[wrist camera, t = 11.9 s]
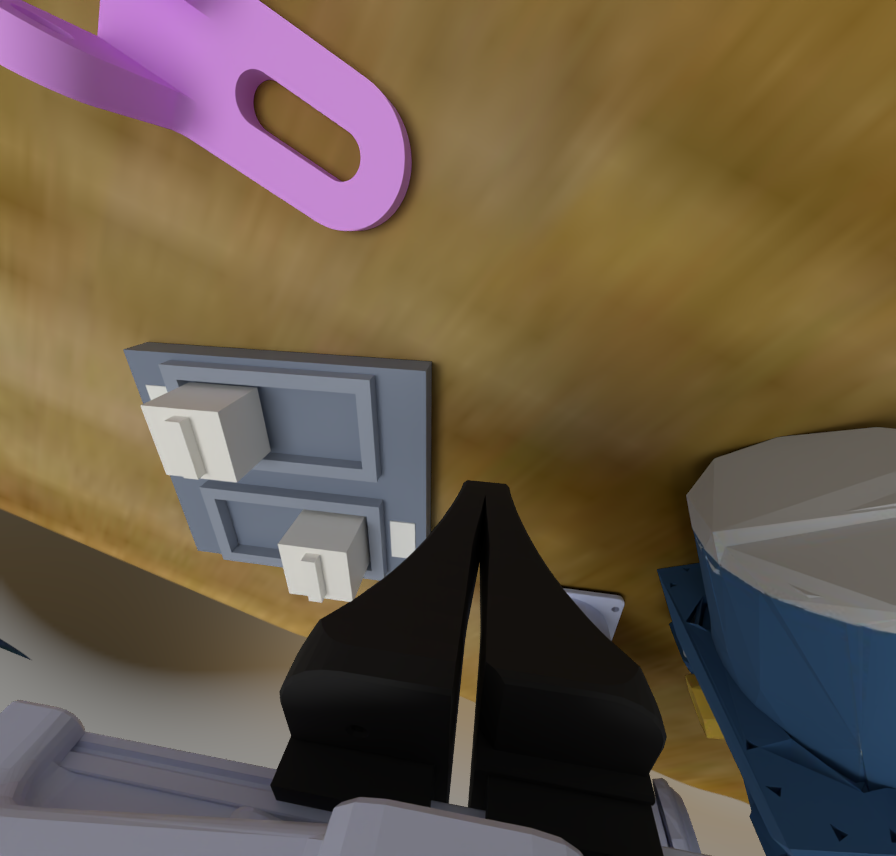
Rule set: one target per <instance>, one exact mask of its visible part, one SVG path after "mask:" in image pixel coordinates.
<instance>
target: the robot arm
mask: <svg viewBox="0 0 896 856" xmlns="http://www.w3.org/2000/svg"><path fill="white" fill-rule="evenodd" d="M479 562H480V619H481V633H480V653H479V667H478V681H477V694H476V708H475V721H474V722H475V723H474V734H473V749H472V761H471V775H470V787H469V801H468V807H463V806H458V805H453V804H449V794H450V784H451V774H452V764H453V754H454V744H455V733H456V723H457V714H458V704H459V694H460V684H461V674H462V664H463V655H464V645H465V637H466V630H467V624H468V619H469V614H470V608H471V603H472V598H473V593H474V588H475V583H476V577H477V572H478V567H479ZM623 608H624V600H623V598H622V597H621V596H619V595H613V594H605V593H597V592H590V591H582V590H574V589H566V588H562V586H561V585H560V584H559V582H558V581H557V580H556V578H555V577H554V576H553V574H552V573H551V571H550V570H549V568H548V567H547V566H546V564H545V563H544V561H543V560H542V558H541V556H540V555H539V553H538V551H537V550H536V548H535V546H534V545H533V543H532V541H531V539H530V537H529V536H528V534H527V532H526V530H525V528H524V526H523V524H522V522H521V520H520V517H519V515H518V513H517V510H516V508H515V505H514V503H513V500H512V497H511V494H510V490H509V487H508V486H507V485H506V484H500V483H490V482H480V481H470V480H467V481H466V482H464V483H463V486H462V488H461V490H460V492H459V494H458V496H457V497H456V499H455V501H454V502H453V504H452V505H451V507H450V508H449V510H448V511H447V512H446V514H445V515H444V517H443V518H442V520H441V521H440V522H439V523H438V525H437V526H436V527H435V528H434V529H433V531H432V532H431V533H430V534H429V535H428V537H427V538H426V539H425V540H424V541H423V542H422V543H421V544H420V545H419V546H418V548H417V549H416V550H415V551H414V552H413V553H411V554H410V555H409V556H408V557H407V558H406V559H405V560H404V561H403V562H402V563H401V564H400V565H398V566H397V567H396V568H395V569H394V570H393V571H392V572H390V573H389V574H388V575H387V576H385V577H384V578H383V579H382V580H380V581H379V582H378V583H376V584H375V585H373V586H372V587H371V588H369V589H368V590H367V591H365V592H364V593H362V594H361V595H360V596H358V597H357V598H355V599H354V600H352V601H351V602H349V603H347V604H346V605H344V606H342V607H341V608H339V609H337V610H336V611H334V612H332V613H331V614H329V615H327V616H326V617H324V618H322V619H320V620H319V621H318V623H317V624H316V626H315V627H314V629H313V630H312V632H311V633H310V635H309V636H308V638H307V639H306V641H305V642H304V644H303V646H302V647H301V649H300V651H299V652H298V654H297V656H296V658H295V660H294V662H293V664H292V666H291V668H290V670H289V672H288V674H287V676H286V679H285V681H284V683H283V685H282V687H281V690H280V701H281V705H282V708H283V711H284V714H285V717H286V720H287V724H288V727H289V730H290V733H291V738H290V740H289V742H288V745H287V748H286V750H285V752H284V754H283V756H282V759H281V761H280V763H279V766H278V768H277V769H271V768H267V767H262V766H256V765H252V764H246V763H241V762H236V761H231V760H226V759H221V758H216V757H211V756H206V755H201V754H196V753H191V752H186V751H181V750H176V749H171V748H166V747H161V746H156V745H151V744H145V743H141V742H136V741H131V740H125V739H120V738H115V737H110V736H105V735H100V734H95V733H90V732H85V728H84V726H83V725H82V723H81V721H80V720H79V719H78V718H77V717H76V716H75V715H74V714H73V713H71V712H69V711H67V710H65V709H62V708H58V707H54V706H49V705H43V704H38V703H33V702H27V701H23V700H17V701H13V702H12V703H11V704H10V705H8V706H7V707H6V708H5V709H4V710H3V711H2V712H1V713H0V856H710V855H705V854H701V851H700V848H699V845H698V842H697V838H696V836H695V832H694V830H693V826H692V824H691V821H690V818H689V815H688V813H687V810H686V807H685V805H684V802H683V800H682V798H681V797H680V795H679V794H678V793H677V792H675V791H674V790H673V789H672V788H671V787H669V785H668V783H667V781H665V780H664V779H662V778H659V779H653V787H654V791H653V787H652V783H651V779H650V775H649V773H650V771H651V769H652V767H653V766H654V764H655V762H656V760H657V758H658V757H659V755H660V753H661V751H662V750H663V748H664V745H665V741H666V738H667V736H666V733H665V729H664V725H663V721H662V717H661V714H660V711H659V709H658V706H657V703H656V701H655V699H654V696H653V694H652V692H651V690H650V687H649V685H648V683H647V681H646V679H645V676H644V674H643V672H642V670H641V668H640V667H639V666H638V665H637V664H636V663H635V662H634V661H633V660H632V659H631V658H629V657H628V656H627V655H626V654H625V653H624V652H623V651H622V650H621V649H619V648H618V647H617V646H616V645H615V644H614V643H613V642H612V639H613V636H614V633H615V630H616V627H617V625H618V622H619V619H620V616H621V613H622V610H623ZM654 792H655V795H654ZM655 798H656V799H655Z"/></svg>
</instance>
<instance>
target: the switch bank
mask: <svg viewBox="0 0 896 856" xmlns="http://www.w3.org/2000/svg"><path fill="white" fill-rule="evenodd" d="M124 353H125V356H126V358H127V361H128V364H129V366H130V369H131V372H132V375H133V377H134V380H135V383H136V385H137V388H138V391H139V393H140V396H141V399H142V401H143V404H144V403H146V402H149V401H151V400H153V399H155V398H157V397H159V396H161V395H163V394H165V393H168V392H170V391H172V390H174V389H176V388H178V387H180V386H182V385H184V384H186V383H189V382H195V383H207V384H220V385H232V386H245V387H257V389H258V394H259V398H260V403H261V408H262V412H263V417H264V421H265V426H266V431H267V435H268V440H269V444H270V449H271V452H269V453H268V454H267V455H266V456H265V457H264V458H263V459H262V460H261V461H260V462H259V463H258V464H257V465H255V466H254V467H253V468H252V469H251V470H250V471H249V472H248V473H247V474H246V475H245V476H244V477H242V478H241V479H240V480H239V481H238V482H228V481H219V480H210V479H201V478H200V479H198V480H197V479H188V478H183V476H173V475H170V477H171V479H172V482H173V485H174V487H175V490H176V493H177V495H178V498H179V501H180V503H181V506H182V509H183V512H184V514H185V517H186V520H187V522H188V525H189V528H190V530H191V533H192V536H193V538H194V541H195V544H196V546H197V549H198V551H206V552H213V553H220V554H222V556H223V559H225V560H232V561H239V562H247V563H254V564H262V565H269V566H276V567H283V564H282V560H281V556H280V552H279V548H278V543H279V541H280V540H281V539H282V537H283V536H284V535H285V533H286V532H287V531H288V529H289V528H290V527H291V525H292V524H293V522H294V521H295V520H296V518H297V517H298V516H299V514H300V513H301V512H302V510H303V509H305V510H314V511H323V512H331V513H340V514H348V515H357V516H366V525H367V535H368V546H369V557H370V562H369V565H368V567H367V570H366V572H365V574H364V577H363V578H365V579H372V580H382V579H383V578H384V577H385V576H387V575H388V574H389V573H390V572H392V571H393V570H394V569H395V568H396V567H397V566H398V565H400V564H401V563H402V562H403V561H404V560H405V559H406V558H407V557H408V556H409V555H410V554H411V553H413V552H414V551H415V550H416V549H417V548H418V546H419V545H420V544H421V543H422V542H423V541H424V540H425V539H426V538H427V537H428V535H429V534H430V533H431V381H432V362H430V361H416V360H401V359H386V358H372V357H357V356H342V355H328V354H313V353H298V352H284V351H269V350H255V349H240V348H225V347H211V346H196V345H181V344H167V343H152V342H146V343H143V344H140V345H137V346H133V347H130V348H127V349H124Z"/></svg>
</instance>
